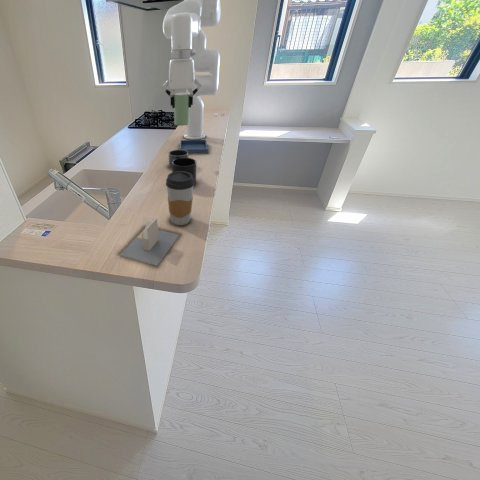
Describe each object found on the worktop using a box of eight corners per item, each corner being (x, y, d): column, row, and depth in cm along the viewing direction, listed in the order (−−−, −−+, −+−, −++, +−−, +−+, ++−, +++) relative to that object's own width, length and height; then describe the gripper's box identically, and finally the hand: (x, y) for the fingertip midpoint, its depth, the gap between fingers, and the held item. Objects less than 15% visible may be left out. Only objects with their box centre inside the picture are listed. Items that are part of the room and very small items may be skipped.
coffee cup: (193, 213, 88) (194, 170, 80) (193, 227, 82) (194, 182, 73) (168, 213, 89) (166, 170, 80) (166, 227, 83) (164, 182, 74)
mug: (198, 177, 112) (199, 156, 107) (193, 189, 103) (194, 167, 98) (176, 175, 114) (176, 154, 109) (169, 187, 105) (169, 165, 100)
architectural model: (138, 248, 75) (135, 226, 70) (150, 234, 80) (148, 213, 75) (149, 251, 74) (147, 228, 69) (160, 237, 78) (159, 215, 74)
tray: (180, 144, 149) (180, 140, 148) (205, 144, 148) (206, 139, 146) (179, 154, 136) (179, 149, 135) (207, 154, 135) (207, 149, 133)
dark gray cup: (169, 163, 126) (169, 149, 123) (188, 163, 126) (188, 149, 122) (168, 170, 119) (168, 156, 116) (188, 170, 119) (188, 156, 115)
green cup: (174, 122, 119) (174, 92, 112) (189, 121, 118) (189, 92, 111) (173, 125, 113) (173, 95, 107) (189, 125, 113) (189, 94, 106)
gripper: (204, 53, 103) (202, 104, 114) (159, 56, 105) (161, 106, 116) (205, 54, 97) (202, 108, 108) (158, 57, 99) (160, 109, 110)
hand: (181, 106), depth 112 cm, fingers closed on green cup, 6 cm apart
